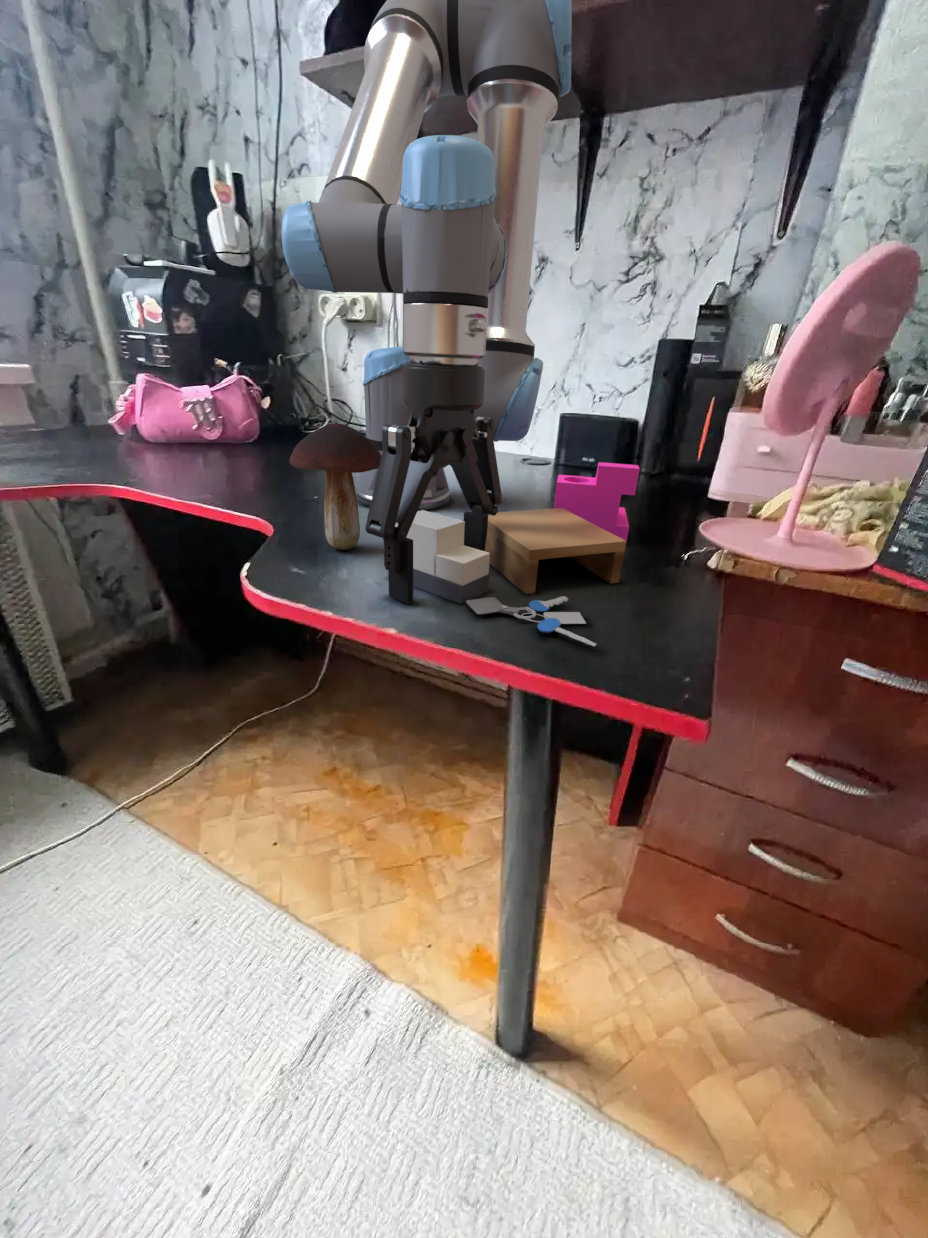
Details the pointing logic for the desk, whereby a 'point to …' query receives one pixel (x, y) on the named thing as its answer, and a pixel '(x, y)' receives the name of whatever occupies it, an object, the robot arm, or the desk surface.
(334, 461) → the decorative mushroom
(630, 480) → the bracket
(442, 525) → the stepped grey-based block
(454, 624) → the desk surface
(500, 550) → the oak shelf
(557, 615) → the key chain
